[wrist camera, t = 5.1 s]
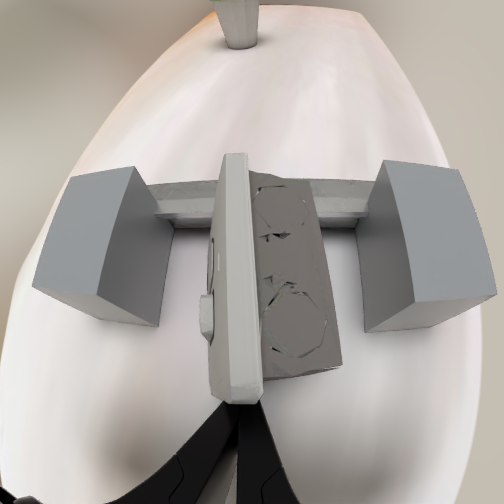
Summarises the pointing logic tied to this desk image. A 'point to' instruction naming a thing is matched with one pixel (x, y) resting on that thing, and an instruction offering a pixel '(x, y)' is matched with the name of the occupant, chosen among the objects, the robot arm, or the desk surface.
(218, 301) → the electrical switch
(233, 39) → the cup
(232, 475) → the robot arm
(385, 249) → the mounted modules
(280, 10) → the desk surface
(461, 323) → the desk surface
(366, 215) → the rail
